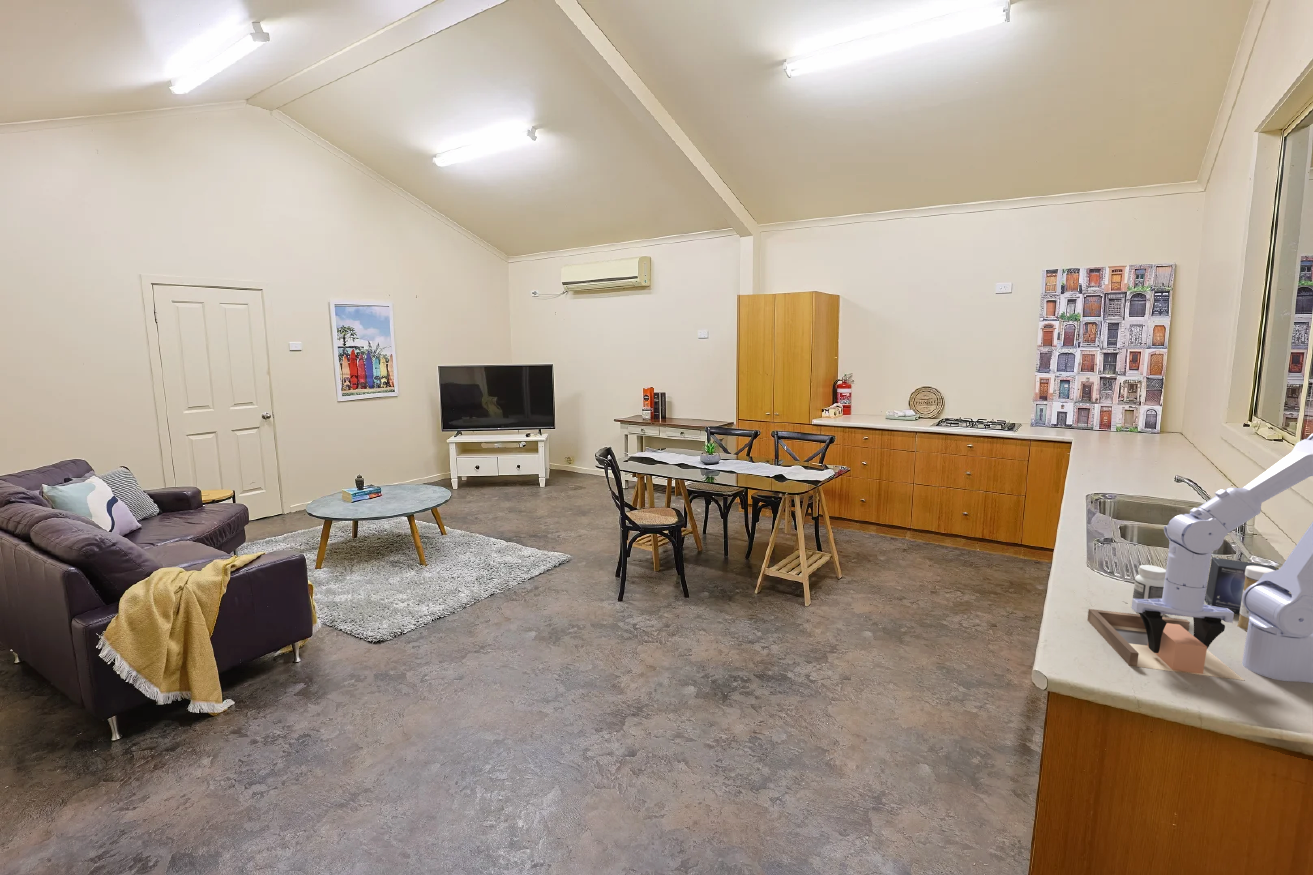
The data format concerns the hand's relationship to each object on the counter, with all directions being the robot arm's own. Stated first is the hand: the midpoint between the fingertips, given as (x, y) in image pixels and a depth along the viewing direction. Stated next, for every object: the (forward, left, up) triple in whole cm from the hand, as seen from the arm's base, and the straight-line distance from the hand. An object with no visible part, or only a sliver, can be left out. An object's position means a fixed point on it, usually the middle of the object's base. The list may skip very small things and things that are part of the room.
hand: (1175, 653), depth 112 cm
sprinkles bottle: (-22, -20, -2) cm, 31 cm away
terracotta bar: (0, 0, -1) cm, 1 cm away
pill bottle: (-6, -26, -2) cm, 26 cm away
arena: (+1, -4, -2) cm, 5 cm away
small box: (-26, -32, -2) cm, 42 cm away
